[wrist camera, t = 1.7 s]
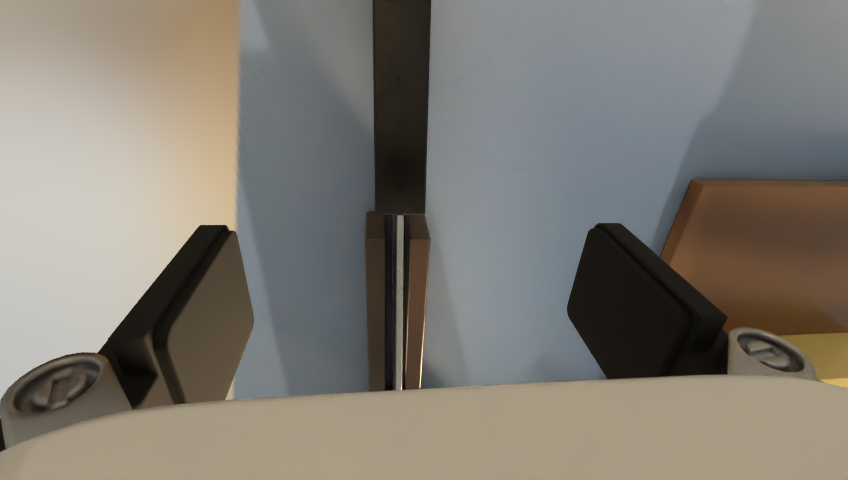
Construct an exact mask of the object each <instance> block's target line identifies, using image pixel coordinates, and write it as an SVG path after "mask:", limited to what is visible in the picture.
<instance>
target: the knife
mask: <svg viewBox="0 0 848 480" xmlns="http://www.w3.org/2000/svg"><path fill="white" fill-rule="evenodd" d="M430 26H431V0H373V78H374V161H375V214H377V215H393V339H392V391H393V390H402V328H403V240H404V215H423V214H425V200H426V165H427V130H428V96H429V61H430Z"/></svg>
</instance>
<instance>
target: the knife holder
mask: <svg viewBox="0 0 848 480" xmlns="http://www.w3.org/2000/svg"><path fill="white" fill-rule="evenodd" d="M365 253H366V290H367V326H368V363H369V392H375V391H392V385H385V357H386V233H385V215H377V214H375V212H366V229H365ZM429 253H430V235H429V231H428V227H427V222H426V218H425V214H423V215H406V238H405V270H404V302H403V334H402V390H411V389H420V386H421V372H422V357H423V342H424V327H425V312H426V297H427V282H428V268H429Z"/></svg>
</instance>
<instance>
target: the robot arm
mask: <svg viewBox="0 0 848 480" xmlns="http://www.w3.org/2000/svg"><path fill="white" fill-rule="evenodd" d="M567 313H568V317H569V319H570V320H571V322H572V323H573V325H574V327H575V328H576V330H577V331H578V333H579V335H580V336H581V338H582V339H583V341H584V342H585V344H586V346H587V347H588V349H589V350H590V352H591V354H592V355H593V357H594V358H595V360H596V362H597V363H598V365H599V366H600V368H601V370H602V371H603V373H604V374H605V376H606V378H607V379H605V380H584V381H564V382H544V383H525V384H505V385H486V386H467V387H448V388H429V389H411V390H393V391H375V392H357V393H340V394H323V395H305V396H288V397H271V398H253V399H236V400H225V399H226V396H227V393H228V391H229V388H230V386H231V383H232V380H233V378H234V375H235V373H236V370H237V367H238V365H239V362H240V360H241V357H242V354H243V352H244V349H245V346H246V344H247V341H248V339H249V336H250V333H251V331H252V328H253V322H254V316H253V310H252V305H251V300H250V295H249V290H248V286H247V281H246V276H245V271H244V266H243V261H242V256H241V252H240V247H239V242H238V237H237V234H236V232H235V231H229V229H228V227H227V226H226V225H200V226H199V227H198V228H197V229H196V231H195V232H194V233H193V234H192V236H191V237H190V238H189V239H188V241H187V242H186V243H185V244H184V245H183V247H182V248H181V249H180V250H179V252H178V253H177V254H176V255H175V257H174V258H173V259H172V260H171V262H170V263H169V264H168V265H167V267H166V268H165V269H164V270H163V272H162V273H161V274H160V275H159V277H158V278H157V279H156V280H155V281H154V283H153V284H152V285H151V287H150V288H149V289H148V290H147V291H146V293H145V294H144V295H143V296H142V297H141V299H140V300H139V301H138V303H137V304H136V305H135V306H134V307H133V309H132V310H131V311H130V312H129V314H128V315H127V316H126V317H125V318H124V320H123V321H122V322H121V323H120V325H119V326H118V327H117V328H116V330H115V331H114V332H113V333H112V335H111V336H110V337H109V338H108V341H107V342H106V343H105V344H104V346H103V347H102V348H101V350H100V351H99V352H98V353H76V354H71V355H65V356H62V357H59V358H56V359H53V360H51V361H48V362H46V363H44V364H42V365H40V366H38V367H36V368H34V369H32V370H31V371H29V372H28V373H26V374H25V375H23V376H22V377H20V378H19V379H18V380H17V381H16V382H15V383H14V384H13V385H11V386H10V387H9V388H8V390H7V391H6V393H5V394H4V396H3V397H2V399H1V401H0V480H848V388H845V387H841V386H836V385H832V384H828V383H825V382H822V381H820V380H818V379H817V375H816V370H815V367H814V365H813V363H812V361H811V359H810V358H809V357H808V356H807V355H806V354H805V353H804V352H803V351H802V350H800V349H799V348H798V347H796V346H795V345H794V344H792V343H790V342H789V341H787V340H785V339H783V338H781V337H779V336H777V335H774V334H772V333H770V332H767V331H763V330H759V329H756V328H748V327H741V328H735V329H733V330H732V331H730V333H729V334H728V333H726V332H725V331H724V330H723V329H722V328H723V326H724V324H725V322H726V320H727V319H728V317H727V316H726V315H725V314H724V313H723V312H722V311H720V310H719V309H718V308H717V307H716V306H715V305H714V304H712V303H711V302H710V301H709V300H708V299H707V298H706V297H704V296H703V295H702V294H701V293H700V292H699V291H698V290H696V289H695V288H694V287H693V286H692V285H691V284H690V283H688V282H687V281H686V280H685V279H684V278H683V277H682V276H680V275H679V274H678V273H677V272H676V271H675V270H674V269H672V268H671V267H670V266H669V265H668V264H667V263H666V262H664V261H663V260H662V259H661V258H660V257H659V256H658V255H656V254H655V253H654V252H653V251H652V250H651V249H649V248H648V247H647V246H646V245H645V244H644V243H643V242H641V241H640V240H639V239H638V238H637V237H636V236H635V235H633V234H632V233H631V232H630V231H629V230H628V229H627V228H625V227H624V226H623V225H622V224H620V223H598V224H597V225H596V226H595V227H594V228H592V229H590V230H589V232H588V234H587V238H586V241H585V245H584V248H583V252H582V255H581V259H580V262H579V266H578V269H577V273H576V276H575V280H574V283H573V287H572V290H571V294H570V297H569V301H568V305H567Z"/></svg>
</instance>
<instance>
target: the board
mask: <svg viewBox="0 0 848 480" xmlns="http://www.w3.org/2000/svg"><path fill="white" fill-rule="evenodd" d="M660 258H661V259H662V260H663V261H664V262H666V263H667V264H668V265H669V266H670V267H671V268H672V269H674V270H675V271H676V272H677V273H678V274H679V275H680V276H682V277H683V278H684V279H685V280H686V281H687V282H688V283H690V284H691V285H692V286H693V287H694V288H695V289H696V290H698V291H699V292H700V293H701V294H702V295H703V296H704V297H706V298H707V299H708V300H709V301H710V302H711V303H712V304H714V305H715V306H716V307H717V308H718V309H719V310H720V311H722V312H723V313H724V314H725V315H726V316H727V317H728V319H727V320H726V322H725V324H724V326H723V328H722V329H723V330H724V331H725V332H726V333H728V334H729V333H730V331H732V330H733V329H735V328H741V327H748V328H756V329H759V330H763V331H767V332H770V333H772V334H774V335H777V336H781V335H803V334H826V333H848V181H816V180H692V181H691V183H690V186H689V188H688V191H687V193H686V195H685V198H684V200H683V203H682V205H681V208H680V210H679V212H678V215H677V217H676V220H675V222H674V225H673V227H672V229H671V232H670V234H669V237H668V239H667V242H666V244H665V246H664V249H663V251H662V254H661V256H660Z"/></svg>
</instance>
